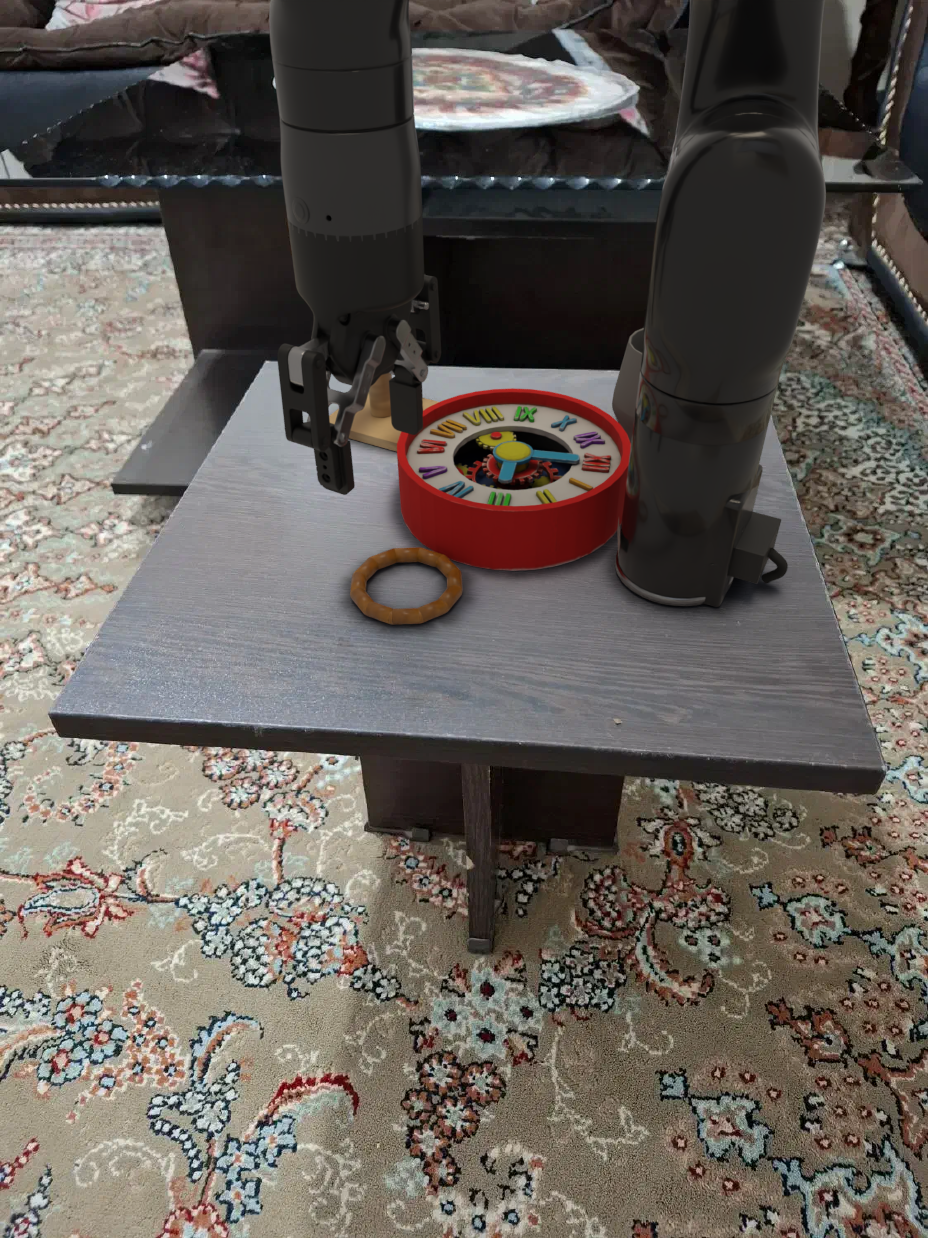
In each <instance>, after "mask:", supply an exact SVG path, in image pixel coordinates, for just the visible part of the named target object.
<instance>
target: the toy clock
mask: <svg viewBox="0 0 928 1238" xmlns="http://www.w3.org/2000/svg"><path fill="white" fill-rule="evenodd" d="M438 402H439V403H436V404H434V405H432V406H430V407H428V408H426V409H425V410H423V429H422V430H421V431H420V432H418V433H417V434H416V435H411V434H408V433H404V432H401V433H400V436H399V439H398V442H397V452H396V459H397V473H398V474H397V475H398V487H399V488H398V489H399V501H400V512H401V515H402V519H403V522H404V524H405V526H406V527H407V529H408V530H409V532H410V533H411V534H412V536H414V538H416V540H417V541H419V542H420V543H421V544H422V545H423V546H425V547H426V548H428V550H431V551H434V552H437V553H440V554H443V555H445V556H447V557H448V558H449V559H450V560H451V561H452V562H453V561H454V562H457V563H461V564H463V565H467V566H471V567H476V568H481V569H487V570H493V571H512V572H515V571H516V572H518V571H519V572H520V571H535V570H541V569H547V568H553V567H558V566H562V565H565V564H568V563H571V562H575V561H577V560H579V559H581V558H584V557H586V556H588V555H590V554H593V552H595V551H597V550H598V549H600V548H602V547H603V546H604V545H606V543H608V541H609V540H611V539H612V538H613V536H614V535H616V533H617V528H618V519H619V527H621V522H622V514H623V506H624V498H625V489H626V481H627V473H628V465H629V457H630V449H631V443H630V441H629V438H628V435H627V433H626V432H625V430H624V429H623V428H622V426H621V425H620V424H619V423H618V421H617V419H615V418H614V417H613V416H612V415H611V414H609V413H607V412H606V411H604V410H603V409H601V408H600V407H598V406H596V405H594V404H592V403H589V402H587V401H585V400H582V399H581V398H580V399H579V398H576V397H574V396H570V395H567V394H563V393H557V392H554V391H548V390H540V389H533V388H514V387H513V388H491V389H485V390H476V391H472V392H471V391H470V392H466V393H463V394H458V395H455V396H452V397H448V398H446V399H443V400H440V401H438Z"/></svg>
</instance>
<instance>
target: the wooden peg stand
mask: <svg viewBox="0 0 928 1238" xmlns="http://www.w3.org/2000/svg"><path fill="white" fill-rule="evenodd" d="M392 378H393V375H392V374H390V373H387V374H384V375H381V376H380V377H379V379H378V380H377V381H376V382H375V384H373V385H372V386H371V387H370V390H369V393H368V397H367V401H366V404H365V407H364V408H363V409H362V410H361V411H358V412H357V413H356V414H355V417H354V420H353V424H352V427H351V431H350V435H349V438H348V440H349V439H350V440H352V441H353V440H354V441H357V442H360V443H365V444H368V445H371V446H375V447H379V448H382V449H386V450H390V451H392V452H396V453H397V442H398V439H399V436H400V433H401V431H398V430H396V429H394V428H393V426H392V423H391V408H390V392H389V380H390V379H392ZM422 400H423V410H425V409H426V408H428V407H430V406H432V405H434V404H436V403H439V402H440V401H437V400H433V399H429V398H425V397H423V399H422ZM338 410H339V408H337V409H336V410H335V411H333V412H332V413H331V414H329V420H330V423H332V424H335V421H336V417H337V414H338Z"/></svg>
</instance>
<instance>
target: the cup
mask: <svg viewBox="0 0 928 1238" xmlns="http://www.w3.org/2000/svg"><path fill="white" fill-rule="evenodd" d="M643 331H644V327H642V328H640V329H637V330H635V331H634V332H633V333H632V334H631V335H630V336H629V338H628V341H627V344H626V347H625V351H624V356H623V359H622V362H621V365H620V370H619V371H618V372H619V373H618V376H617V379H616V382H615V386H614V390H613V394H612V401H611V408H612V412H613V414H614V417H615V418H616V419H615V420H616V421H617V422H618V423H619V424H620V425H621V426H622V428H623V429H624V430H625V432H626V433H627V435H628V438H629V441H630V443H631V441H632V433H633V424H634V416H635V408H636V401H637V392H638V384H639V376H640V369H641V361H642V353H643Z"/></svg>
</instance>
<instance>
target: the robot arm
mask: <svg viewBox="0 0 928 1238" xmlns="http://www.w3.org/2000/svg"><path fill="white" fill-rule="evenodd" d="M825 3H826V0H689V21H688V24H689V25H688V32H687V33H688V34H687V45H686V55H685V64H684V65H685V67H684V72H683V80H682V89H681V96H680V102H679V109H678V116H677V117H678V118H677V122H676V130H675V135H674V136H675V137H674V142H673V145H672V150H671V154H670V157H669V161H668V165H667V168H666V173H665V177H664V180H663V185H662V188H661V192H660V197H659V201H658V208H657V212H656V221H655V228H654V237H653V244H652V251H651V253H652V254H651V263H650V270H649V271H650V272H649V280H648V289H647V298H646V307H645V315H644V322H643V328H644V331H643V353H642V361H641V369H640V376H639V384H638V392H637V401H636V408H635V416H634V424H633V433H632V441H631V449H630V457H629V465H628V473H627V481H626V489H625V498H624V506H623V514H622V522H621V525H620V526H619V519H618V528H617V531H616V533H617V550H616V555H615V561H614V562H615V564H614V567H615V570H616V574H617V577H618V578H619V579H620V581H621V582H622V584H624V586H625V587H626V588H628V589H629V590H630V591H632V592H633V593H634V594H636V595H637V596H639V597H641V598H644V599H646V600H649V601H651V602H654V603H657V604H662V605H666V606H674V607H693V606H699V605H708V606H711V607H714V608H718V607H720V606H721V605H722V602H723V601H724V598H725V596H726V594H727V592H728V591H729V589H730V588H731V586H732V585H733V582H734V578H735V579H738V580H742V581H745V582H749V583H751V584H756V585H758V583H759V582H760V579H761V582H763V583H764V584H769V583H771V582H774V581H776V580H778V579H781V578H783V577H784V576H785V575H786V573H787V572H788V568H789V565H788V562H787V560H786V559H785V558H784V557H783V556H782V554H780V553H779V552H778V551H777V550H776V549H775V546H776V541H777V539H778V538H777V537H778V534H779V530H780V526H781V523H782V518H779V517H776V516H771V515H768V514H764V513H759V512H757V511H754V507H755V504H756V499H757V496H758V491H759V487H760V483H761V478H762V474H763V469H764V467H763V465H762V464H760V463H761V457H762V454H763V448H764V444H765V441H766V436H767V432H768V428H769V423H770V420H771V415H772V411H773V408H774V407H773V406H774V403H775V399H776V394H777V390H778V386H779V382H780V377H781V373H782V370H783V366H784V363H785V360H786V358H787V357H788V354H789V353H790V350H791V347H792V346H793V343H794V338H795V335H796V331H797V327H798V323H799V320H800V317H801V316H800V315H801V311H802V308H803V304H804V301H805V296H806V293H807V290H808V289H807V288H808V285H809V280H810V277H811V273H812V270H813V266H814V261H815V257H816V254H817V250H818V244H819V242H820V241H819V240H820V236H821V231H822V227H823V223H824V218H825V217H824V216H825V209H826V200H827V197H826V196H827V193H826V192H827V190H826V189H827V188H826V181H825V175H824V168H823V164H822V158H821V157H822V156H821V151H820V144H819V129H818V127H819V83H820V81H819V80H820V67H821V66H820V64H821V49H822V33H823V31H822V30H823V19H824V12H825V11H824V9H825ZM268 14H269V15H268V18H269V19H268V20H269V21H268V24H269V43H270V55H271V59H272V67H273V76H274V84H275V91H276V93H275V94H276V100H277V108H278V116H279V117H278V118H279V130H280V171H281V181H282V187H283V195H284V203H285V204H284V205H285V211H286V218H287V219H286V220H287V226H288V227H287V228H288V234H289V241H290V242H289V243H290V250H291V258H292V266H293V272H294V280H295V288H296V291H297V292H298V294H299V296H300V297H301V298H302V299H303V301H304V302H305V303H306V304H307V306H308V307H309V309H310V310H311V312H312V314H313V323H312V324H313V325H312V332H311V338H310V340H309V341H306V342H305V343H304V344H301V345H300V346H296V345H293V344H289V343H282V344H281V345H280V346H279V347H278V349H277V353H276V359H277V369H278V370H277V371H278V378H279V386H280V387H279V388H280V396H281V405H282V407H281V408H282V414H283V423H284V425H283V426H284V435H285V439H286V440H287V441H288V442H291V443H295V444H298V445H300V446H304V447H306V448H310V449H313V453H314V462H315V466H316V467H315V468H316V469H315V470H316V476H317V482H318V483H319V485H320V486H322V487H323V488H324V489H325V490H327V491H330V492H334V493H337V494H340V495H343V496H347V495H349V494H350V492H352V491H353V490H354V489H355V485H356V484H355V476H354V464H353V456H352V454H353V453H352V446H351V440H349V435H350V431H351V427H352V424H353V420H354V417H355V414H356V413H357V412H358V411H361V410H362V409H363V408H364V407H365V404H366V401H367V397H368V393H369V390H370V387H371V386H372V385H373V384H375V382H376V381H377V380H378V379H379V377H380V376H381V375H384V374H387V373H390V374H392V379H390V380H389V392H390V408H391V423H392V426H393V428H394V429H396V430H398V431H401V432H404V433H408V434H411V435H416V434H417V433H418V432H420V431H421V430H422V429H423V400H422V399H423V398H424V397H423V396H424V395H423V383H424V382H425V381H426V380H427V378H428V375H429V365H430V363H433V364H438V362H439V361H440V359H441V355H442V342H441V341H442V338H441V321H440V319H441V318H440V303H439V301H440V299H439V283H438V282H439V281H438V278H437V277H436V276H432V275H426V273H425V256H424V252H425V251H424V222H423V221H424V220H423V195H422V194H423V192H422V190H423V189H422V167H421V165H422V164H421V156H420V147H419V142H418V136H417V135H418V134H417V129H416V128H417V127H416V120H415V119H416V118H415V114H414V113H415V92H414V91H415V90H414V62H413V61H414V60H413V44H412V33H411V23H410V0H270V1H269V11H268ZM417 330H421V331H422V332H423V333H424V335H425V337H424V338H425V341H421V340H417ZM332 376H333V377H334V379H335V380H336V381H337V382H339V383H341V384H344V385H348V386H351V387H350V388H349V390H348V391H346V392H345V391H344V392H343V391H339V390H336V389H333V388H331V387H330V382H331V381H330V380H331V377H332ZM332 404H333V405H337V406H338V409H339V410H338V414H337V417H336V421H335V424H332V423H330V420H329V416H330V408H329V407H330V406H331V405H332ZM304 413H306V414H307V419H306V421H304ZM769 560H770V561H771V562H772V563H773V564H775V566H776V568H774V569H773V570H770V571H767V572H765V573H763V572H764V570H765V568H766V566H767V564H768V562H769Z"/></svg>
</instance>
